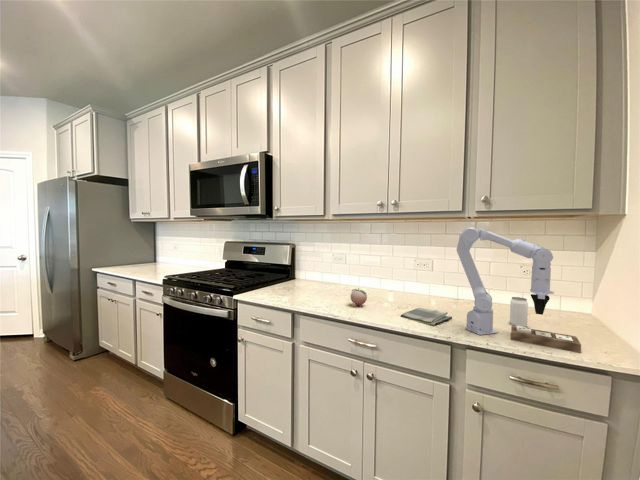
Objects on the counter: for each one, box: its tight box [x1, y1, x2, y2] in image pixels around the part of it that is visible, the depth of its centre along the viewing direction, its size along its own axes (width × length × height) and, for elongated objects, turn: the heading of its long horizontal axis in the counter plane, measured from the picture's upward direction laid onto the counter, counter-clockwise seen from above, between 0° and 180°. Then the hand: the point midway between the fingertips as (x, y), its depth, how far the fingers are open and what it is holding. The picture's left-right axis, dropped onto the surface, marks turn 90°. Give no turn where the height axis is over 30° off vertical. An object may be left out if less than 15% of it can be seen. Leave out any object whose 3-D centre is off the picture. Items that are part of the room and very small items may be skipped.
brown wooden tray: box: [510, 325, 582, 353], centre depth 106 cm, size 20×9×3 cm, turn 55°
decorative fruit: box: [350, 287, 368, 307], centre depth 154 cm, size 9×8×10 cm
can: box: [509, 296, 529, 327], centre depth 125 cm, size 6×6×12 cm
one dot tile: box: [535, 331, 552, 338], centre depth 106 cm, size 5×5×3 cm
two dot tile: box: [555, 334, 573, 341], centre depth 103 cm, size 5×5×3 cm
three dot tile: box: [516, 326, 532, 334], centre depth 110 cm, size 5×5×3 cm
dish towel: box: [400, 307, 453, 327], centre depth 135 cm, size 19×18×3 cm
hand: (539, 313), depth 108 cm, fingers closed
